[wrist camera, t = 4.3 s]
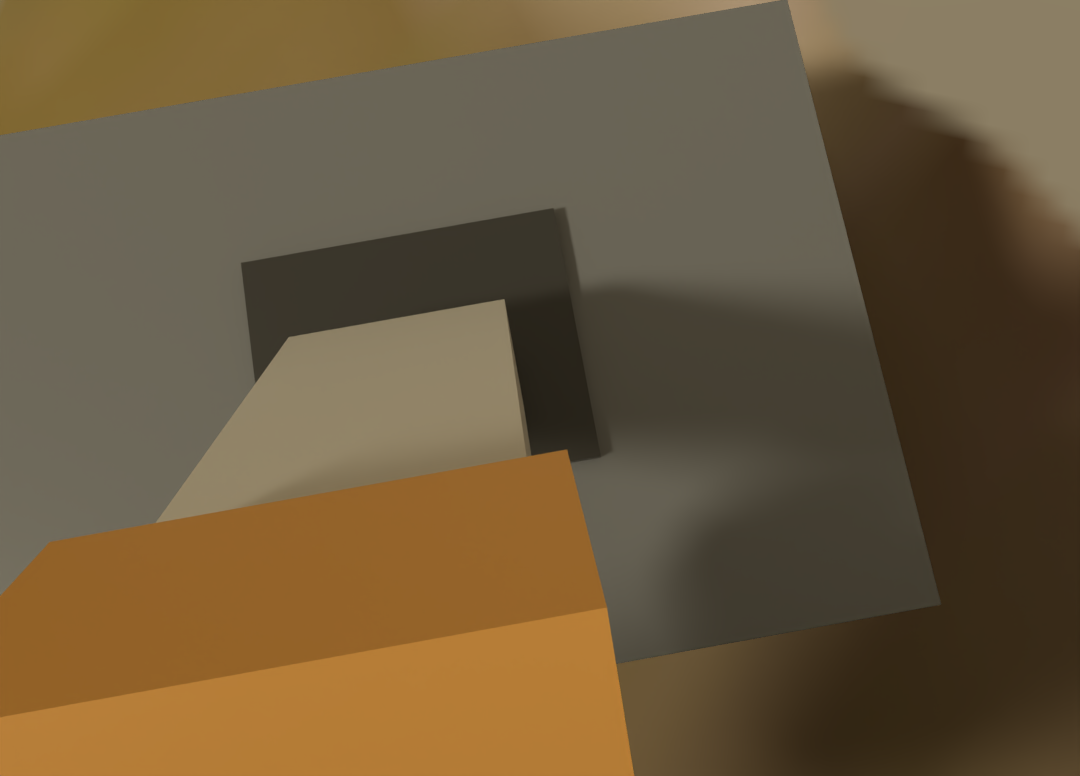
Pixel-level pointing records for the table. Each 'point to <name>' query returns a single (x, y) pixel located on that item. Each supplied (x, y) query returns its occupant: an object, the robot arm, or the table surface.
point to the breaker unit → (483, 276)
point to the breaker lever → (333, 588)
